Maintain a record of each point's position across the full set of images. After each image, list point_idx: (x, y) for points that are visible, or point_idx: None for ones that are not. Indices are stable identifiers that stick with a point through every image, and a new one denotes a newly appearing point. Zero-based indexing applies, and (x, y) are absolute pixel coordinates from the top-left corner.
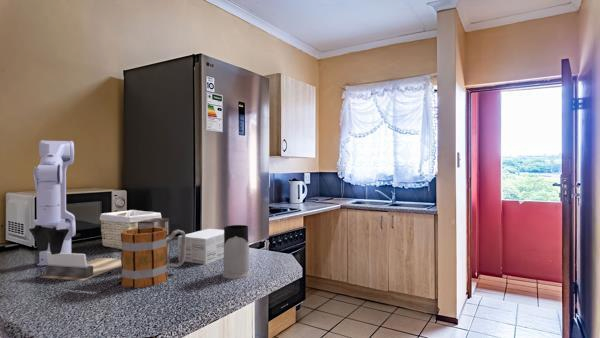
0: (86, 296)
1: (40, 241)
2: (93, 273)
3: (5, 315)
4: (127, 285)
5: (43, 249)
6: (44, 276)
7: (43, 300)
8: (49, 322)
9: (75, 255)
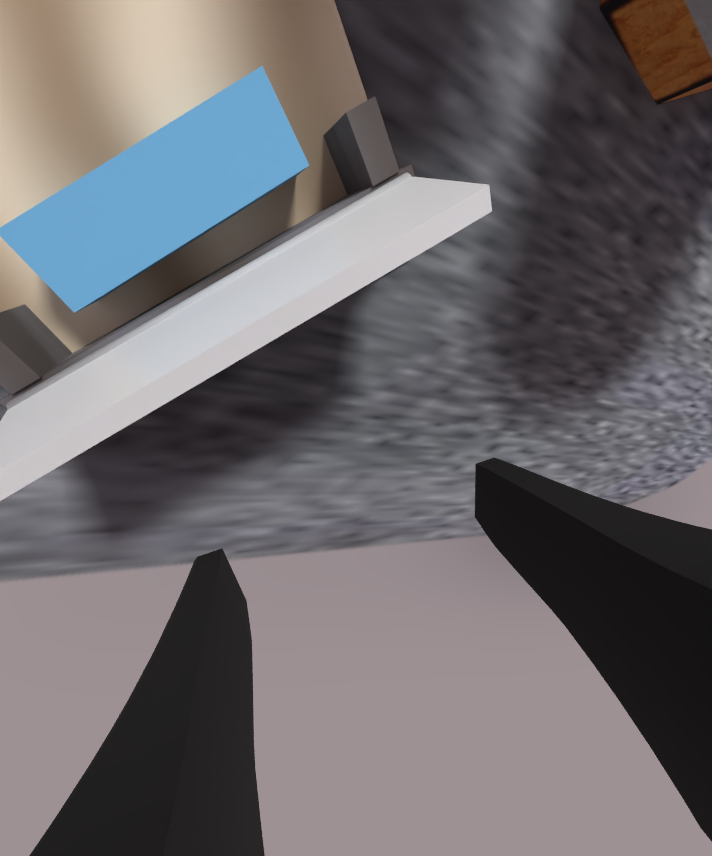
0: (617, 314)
1: (237, 717)
2: (291, 88)
3: None
4: (710, 88)
5: (232, 589)
6: None
7: (511, 446)
8: (677, 448)
9: (381, 271)
